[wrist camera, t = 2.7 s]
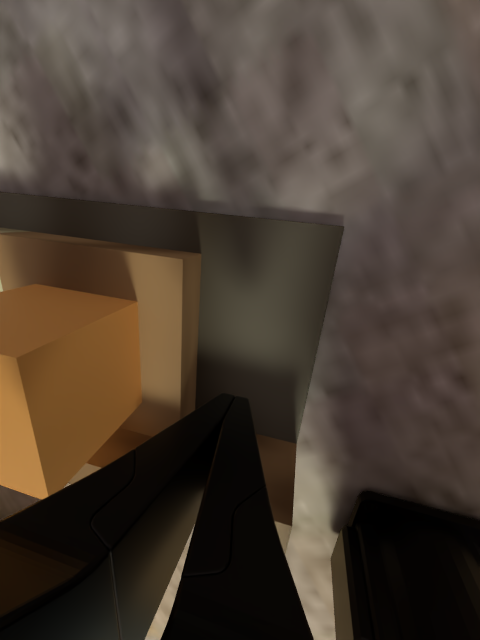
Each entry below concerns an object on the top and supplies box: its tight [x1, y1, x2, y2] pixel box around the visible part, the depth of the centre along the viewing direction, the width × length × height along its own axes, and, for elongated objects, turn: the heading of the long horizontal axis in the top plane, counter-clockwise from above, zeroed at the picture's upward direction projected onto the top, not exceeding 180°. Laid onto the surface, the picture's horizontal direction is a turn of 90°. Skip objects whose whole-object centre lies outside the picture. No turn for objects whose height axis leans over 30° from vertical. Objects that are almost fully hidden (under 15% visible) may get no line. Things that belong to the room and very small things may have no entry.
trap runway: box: [0, 192, 344, 554], centre depth 12 cm, size 24×11×4 cm, turn 85°
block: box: [0, 284, 142, 499], centre depth 9 cm, size 4×4×4 cm
